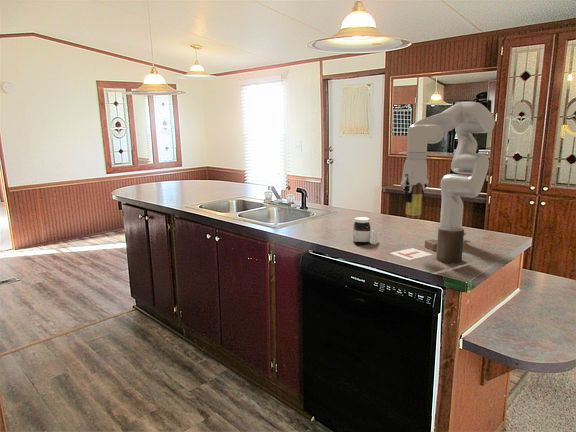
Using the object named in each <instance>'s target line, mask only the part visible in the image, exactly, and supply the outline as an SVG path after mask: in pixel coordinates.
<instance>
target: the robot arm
mask: <svg viewBox="0 0 576 432" xmlns="http://www.w3.org/2000/svg"><path fill="white" fill-rule="evenodd" d="M495 122H496V121H495V117H494V114H492V112H490V110H489V109H488V108H487V107H486V106H485V105H483V104H482V103H481V102H473V101H472V102H458V103H454V104H453V105H452V106H449V107H448V108H446V109H445V110H444V111H442V112H440V113H437V114H434V115H431V116H427V117H424V118H422V119H419V120H417V121H416V122H414V123H413V124H411V125H409V127H408V129H407V133H406V135H407V146H406V160H405V161H404V164H403V169H402V176H401V182H400V186H401V188H402V190H403V192H404V202H405V203H406V202H409V203H411V202H412V193H411V190H412V187H413V186H414V185H416V184H417V183H421V185H422V193H423V194H422V202H423V201H424V199H425V198H424V196H425V191H426V189H427V186H428V185H429V183H430V180H429V178H428V162H427V157H428V156H427V155H428V153H427V152H428V144H431V145H432V144H438V143H439V142H441V141H442V140H443V139H444V135H445V133H448V132H451V131H453V130H454V129H455V133H456V136H457V146H456V149H455V152H454V155H453V158H452V160H451V163H450V164H451V165H450V169H451V171H452V172H453V173H447V174H445V175H443V177H442V178H441V180H440V192H441V194H440V195H441V204H440V205H441V206H440V207H441V208H440V218H439V227H441V226H451V225H452V226H455V227H460V228H463V217H464V216H463V215H464V201H463V200H462V198H461V197H465V198H467V197H468V198H469V197H470V198H475V197H476V198H477V197H478V196H479V195H480V193H481V191H482V188H483V186H484V184H485V180H486V177H487V175H488V171H489V166H490V160H489V157H488V156H487V155H486V154H485V153H477V150H478V142H477V139H476V138H475V137H474V136H473V134H487V133H491V132H492V130H494V128H495V124H496V123H495ZM408 186H409V188H408ZM466 235H467V232H466V231H465V230H464V237H465V236H466ZM435 239H438V236H435ZM435 239H434V240H435ZM464 243H465V238H464V239H463V244H464Z"/></svg>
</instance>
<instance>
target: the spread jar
mask: <svg viewBox="0 0 576 432" xmlns="http://www.w3.org/2000/svg"><path fill="white" fill-rule="evenodd" d="M370 222H371V221H370V218H369V217H366V216H357V217H354V222H353V227H352V228H353V230H352V241H353V244H355V245H359V246H360V245H362V246H365V245H369V244H370V243H372V245H377V244H378V243H379V237H378V234H377V232H376V230H372V229H371V224H370Z"/></svg>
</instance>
